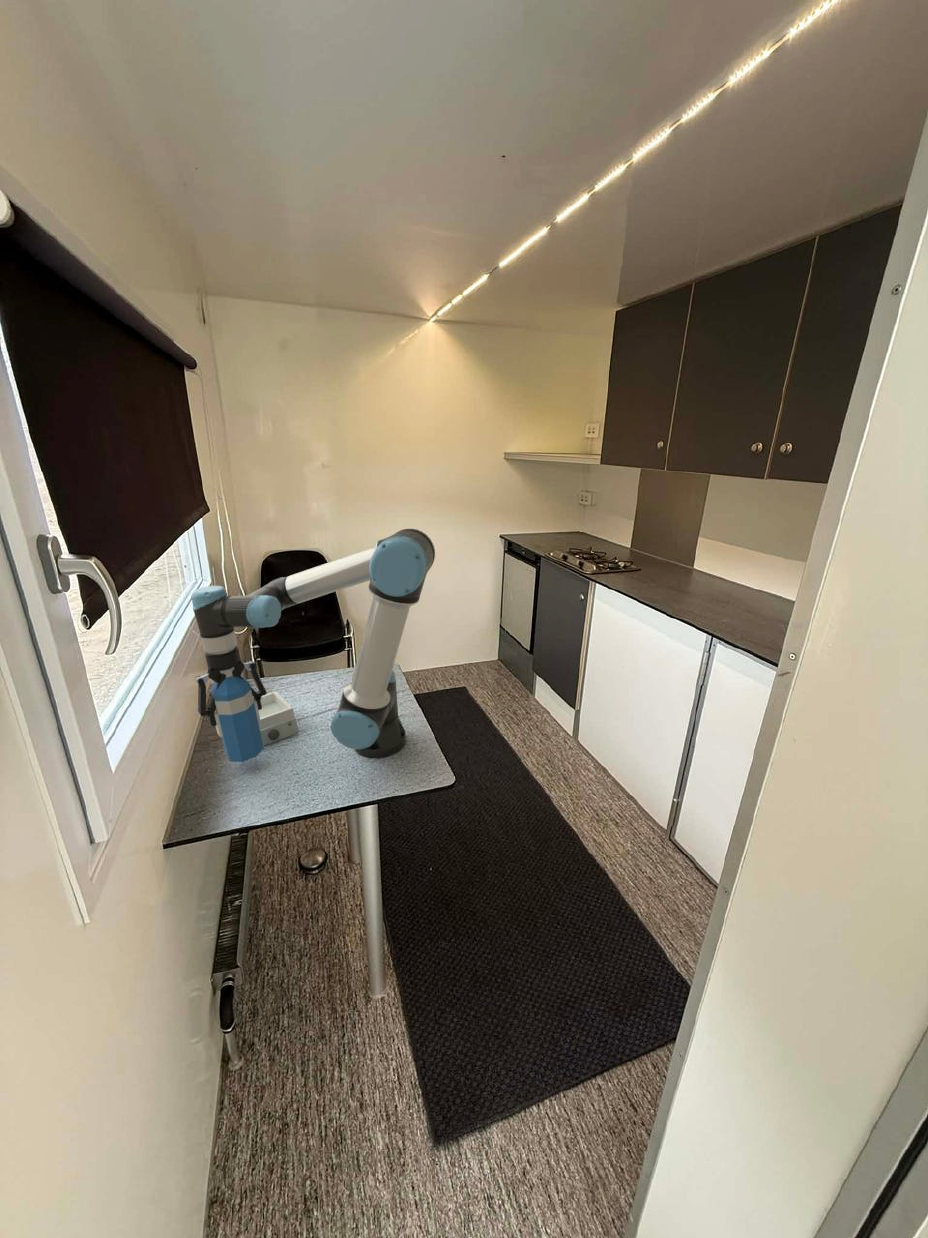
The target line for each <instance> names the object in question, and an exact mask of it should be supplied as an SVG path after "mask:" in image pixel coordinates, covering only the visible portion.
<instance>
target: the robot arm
mask: <svg viewBox="0 0 928 1238" xmlns="http://www.w3.org/2000/svg"><path fill="white" fill-rule="evenodd" d="M435 550H436V549H435V545H434V543H433V541H432V539H431V537H429V536H428V535H427V534H426V533H425V532H423V531H421V530H419V529H418V528H417V529H415V528H404V529H401V530H399V531H397V532H395V533H394V534H392V535H390V536H388V537H385V538H383V539H380V540H377V542H375V546H373V547H370V548H367V549H364V550H361V551H357V552H354V553H352V554H349V555H346V556H343V557H340V558H337V559H335V560H332V561H329V562H327V563H323V564H320V565H317V566H314V567H312V568H308V569H305V570H303V571H299V572H297V573H294V574H290V575H289V576H284V577H283V576H282V577H279V578H276V579H275V578H274V579H273V580H271V581H270V582H268V583H267V584H265V585H263V586H262V587H260V588H258V589H256V590H254V591H253V592H251V593H249V594H247V595H228V593H227V590H226V588H225V587H224V586H221V585H207V586H204V587H200V588H197V589H195V590H194V591H192V592H191V594H190V597H191V603H192V610H193V613H194V616H195V620H196V623H197V626H198V629H199V635H200V640H201V644H202V648H203V651H204V652H205V653H204V657H205V661H206V664H207V669H208V670H207V673H205V674H203V675H196V676H195V681H196V682H197V686H198V687H197V688H198V691H197V693H198V695H197V696H198V697H197V698H198V699H197V702H198V703H197V707H198V708H197V712H198V713H199V715H200V716H201V717H205V716H207V717H208V720H209V724H210V725H211V726H212V727H215V728H216V732H217V734H218V736H219V737H220V738H221V739H222V737H223V733H222V729H221V725H220V721H219V716H218V714H217V712H216V711H215V710H216V705H215V701H214V697H213V696H212V694H211V693H210V697H209V702H208V704H207V684H208V682H209V679H211V680H212V681H213V684H214V683H215V682H216V683H218V684H217V689H218V688H219V686H220V684H221V683H222V681H224V680H225V679H226V675H225V674H221V673H220V671H221V670H224V669H228V668H231V667H234V670H233V671H232V675H233V676H234V677H238V678H240V679H242V680H244V679H243V678H244V677H243V676H242V673H243V671H244V670H245V669H246V670H247V671H248V672H249V674H250V675H251V678H252V679H253V683H255V686H256V688H257V690H258V691H255V689H254V688H253V687H252V686H251V685H250V687H251V691H252V696H253V701H254V705H255V710H256V715H257V719H258V723H261V720H260V715H259V711H258V710H261V709H262V705H261V701H260V700H261V697H262V696H263V695H266V694H268V692H267V690H266V688H265V686H264V684H263V682H262V679H261V678H260V676H259V674H258V671H257V664H256V662H254V661H253V660H248V661H247V662H243V661H242V658H241V655H240V654H241V653H240V648H239V646H237V645H238V640H237V636H236V632H235V628H258V629H259V628H260V629H265V628H271V627H274V626H276V625H277V624H278V623H279V620H280V619H281V615H282V611H283V610H284V609H287V608H290V607H292V606H296V605H298V604H301V603H304V602H307V601H308V602H309V601H310V600H313V599H316V598H320V597H323V596H326V595H329V594H331V593H335V592H338V591H342V590H344V589H347V588H351V587H354V586H356V585H359V584H360V585H361V584H362V583H366V582H369V584H368V591H369V592H370V593H371V595H372V601H371V604H370V607H369V611H368V616H367V621H366V624H365V629H364V633H363V636H362V641H361V644H360V647H359V652H358V656H357V660H356V664H355V669H354V671H353V673H352V676H351V677H352V679H351V681H350V682H348V683H347V684H345V686H344V687H343V690H342V694H341V698H340V701H339V706H338V709H337V711H336V713H335V714H334V715H333V716H332V719H331V722H330V730H331V731H330V732H331V733H332V736H333V737H334V738H335V739H336V741H337V742H338V743H339V744H340V745H342V746H344V747H346V748H348V749H351V750H354V751H355V752H356V753H357V754H358V755H360V756H363V757H366V758H370V759H371V758H372V759H377V758H378V759H379V758H380V759H381V758H385V757H388V756H392V755H394V754H396V753H398V752H399V751H400V750H402V749H403V748H404V747H405V745H406V742H407V733H406V730H405V727H404V725H403V723H402V721H401V719H400V716H399V705H398V692H397V679H396V678H397V677H396V673H395V671H394V670H393V669H394V665H395V661H396V657H397V654H398V651H399V649H400V648H399V647H400V644H401V640H402V637H403V633H404V629H405V625H406V622H407V619H408V615H409V613H410V608H411V607H412V606H414V605H416V604H418V603H419V601H420V598H421V594H422V591H423V587H424V584H425V581H426V577H427V574H428V572H429V571H430V570H431V568H432V566H433V565H434V562H435V558H436V551H435ZM241 676H242V677H243V678H242V677H241Z"/></svg>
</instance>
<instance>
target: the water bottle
mask: <svg viewBox="0 0 928 1238" xmlns="http://www.w3.org/2000/svg"><path fill="white" fill-rule="evenodd" d="M233 670H234V667H231V668H228V669H224V670H221V671H220V673H221V674H225V675H226V679H225V680H224V681H222V683H221V684H220V686H219V688H218V689H217V684H218V683H216V682H215V683H214V682H213V683H212V684H213V685H212V686H211V688H210V689H209V691H210V695H211V694H212V696H213V697H214V701H215V705H216V710H215V711H216V712H217V714H218V716H219V721H220V725H221V729H222V733H223V737H221V739H222V744H223V747H224V751H225V755H226V758H227V759H228V761H229V762H231V763H234V762H235V763H237V762H238V763H244V762H246V761H249V760H251V759H254V758H257V757H258V755H260V754H261V752H262V751H263V750H264V746H263V742H262V738H261V733H260V728H259V724H258V719H257V715H256V710H255V705H254V701H253V698H254V697H253V696H252V691H251V687H252V686H251V683H250V682H249V681H248V680H247V679H246V678H245V677H243V676H242V675H241V677H242V678H243V679H244V680H242V679H240V678H238V677H234V676H233V675H232V671H233ZM250 686H251V687H250Z"/></svg>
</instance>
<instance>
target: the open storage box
mask: <svg viewBox="0 0 928 1238" xmlns="http://www.w3.org/2000/svg"><path fill="white" fill-rule="evenodd" d="M260 701H261V705H262V709H261V710H258V711H259V715H260V720H261V723H258V724H259V728H260V733H261V738H262V742H263V747H264V746H266V745H269V744H272V743H274V742H278V741H280V740H282V739H285V738H287V737H290V736H293V735H295V734H297V733H299V731H298V725H297V719H296V716H295V713H294V708H293V707H292V705H291V704H289V703H288V701H286V699H285V698H284V697H282V696H281V694H280V693H278V692H277V691H276V690H275V691H272V692H269V693H267V694H266V695H263V696H262V697H261V700H260Z"/></svg>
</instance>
